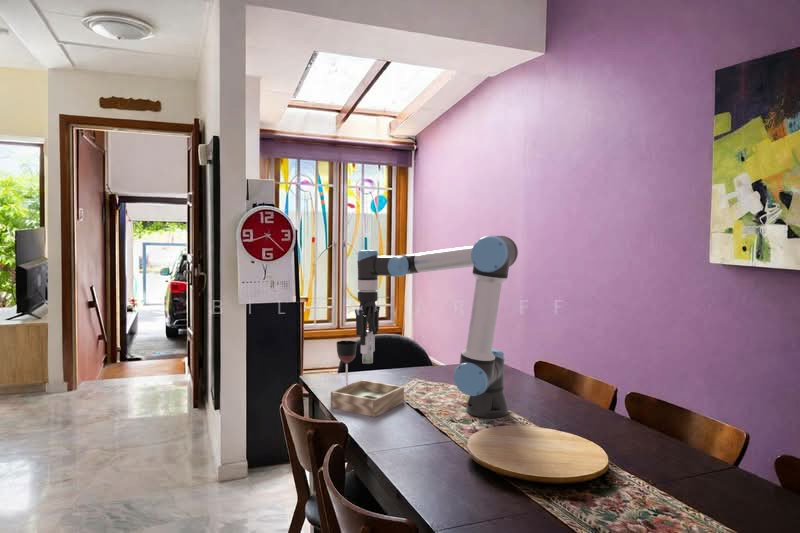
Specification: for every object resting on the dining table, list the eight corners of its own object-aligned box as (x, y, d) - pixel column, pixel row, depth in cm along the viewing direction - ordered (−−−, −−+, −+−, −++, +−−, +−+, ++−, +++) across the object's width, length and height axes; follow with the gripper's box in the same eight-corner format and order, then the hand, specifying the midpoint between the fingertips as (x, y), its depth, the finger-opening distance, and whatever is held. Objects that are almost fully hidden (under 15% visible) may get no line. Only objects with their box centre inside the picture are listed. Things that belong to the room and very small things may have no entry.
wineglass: (348, 393, 215) (347, 345, 214) (332, 390, 221) (332, 342, 220) (360, 389, 222) (360, 342, 221) (345, 385, 227) (345, 339, 226)
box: (403, 402, 204) (403, 386, 204) (375, 416, 187) (375, 400, 187) (361, 394, 215) (361, 379, 214) (330, 407, 198) (330, 391, 197)
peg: (374, 362, 201) (374, 330, 200) (368, 364, 198) (369, 332, 197) (366, 360, 203) (366, 329, 202) (360, 362, 200) (360, 331, 199)
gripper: (372, 288, 208) (372, 347, 209) (346, 292, 193) (346, 355, 195) (388, 289, 204) (388, 349, 205) (362, 293, 190) (362, 357, 191)
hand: (367, 352), depth 200 cm, fingers closed on peg, 4 cm apart
